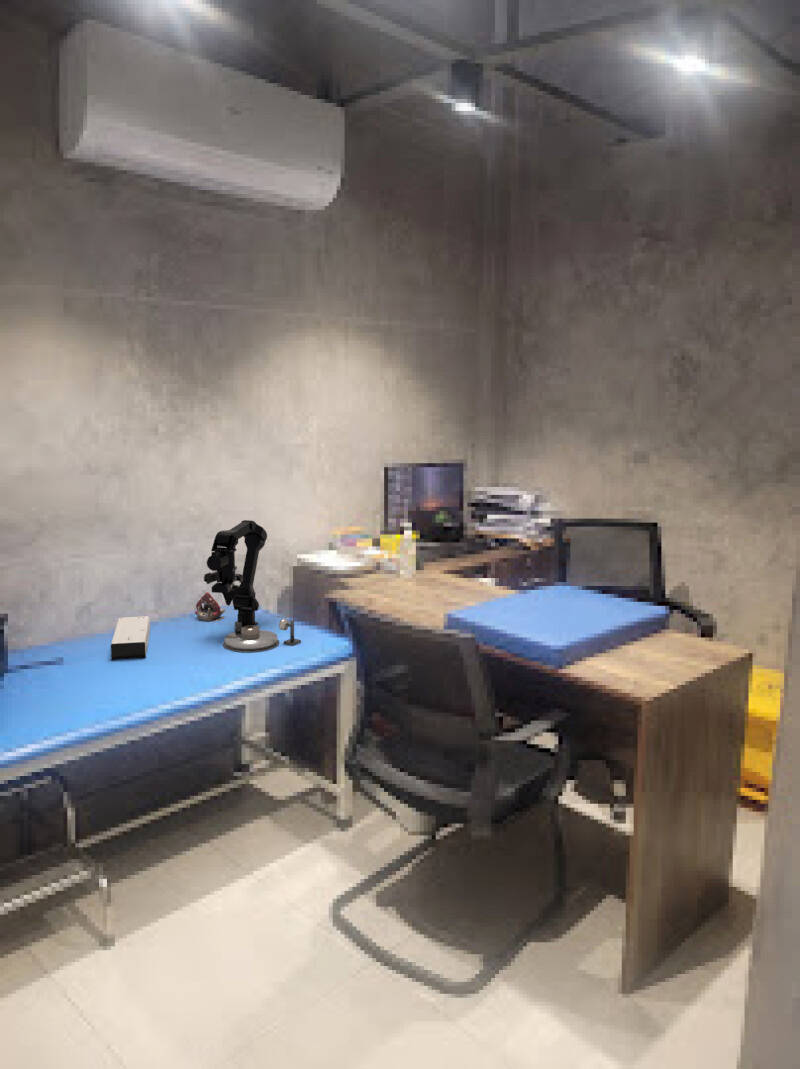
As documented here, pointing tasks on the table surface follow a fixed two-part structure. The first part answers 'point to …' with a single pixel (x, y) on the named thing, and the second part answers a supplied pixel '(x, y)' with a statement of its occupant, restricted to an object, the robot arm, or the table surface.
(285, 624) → the stand
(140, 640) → the laminator
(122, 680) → the table surface
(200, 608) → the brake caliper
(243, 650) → the turntable base
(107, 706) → the table surface
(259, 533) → the robot arm
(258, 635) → the cover
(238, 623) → the turntable
